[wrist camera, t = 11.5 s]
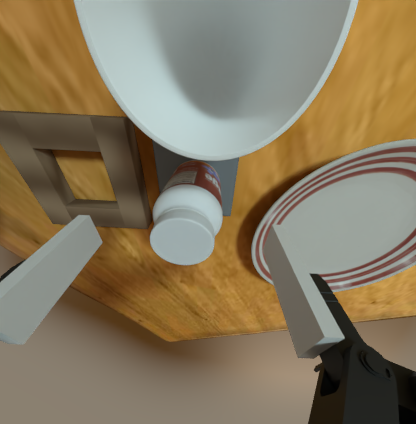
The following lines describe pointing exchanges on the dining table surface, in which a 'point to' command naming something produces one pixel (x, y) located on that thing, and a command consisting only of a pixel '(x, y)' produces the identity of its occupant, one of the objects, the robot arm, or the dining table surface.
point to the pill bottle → (188, 214)
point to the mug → (214, 66)
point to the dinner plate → (350, 217)
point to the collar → (80, 141)
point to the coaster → (224, 168)
